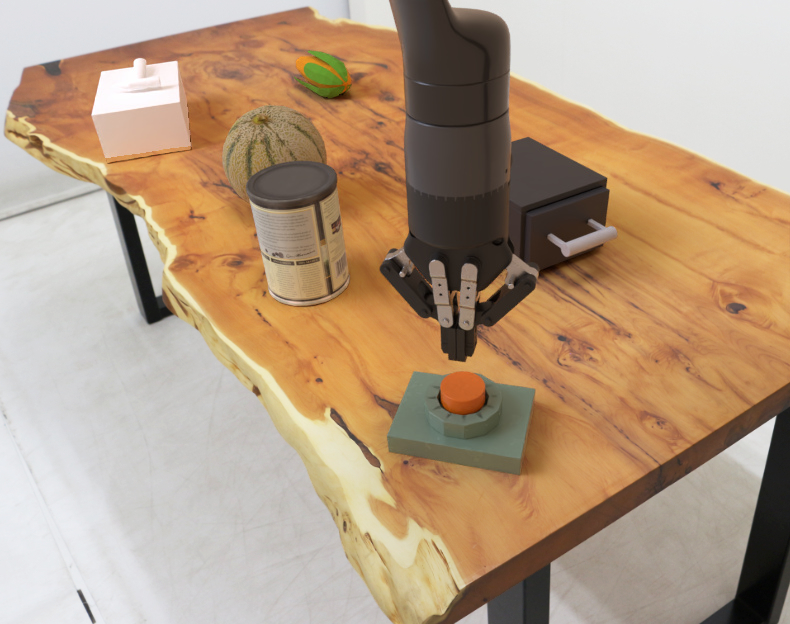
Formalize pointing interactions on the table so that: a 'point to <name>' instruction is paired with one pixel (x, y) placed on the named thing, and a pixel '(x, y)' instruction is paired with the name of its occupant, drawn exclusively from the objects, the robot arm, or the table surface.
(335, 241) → the coffee can
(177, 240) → the table surface
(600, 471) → the table surface
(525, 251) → the dark drawer
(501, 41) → the robot arm
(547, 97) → the table surface
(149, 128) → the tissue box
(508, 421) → the control block
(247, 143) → the cantaloupe
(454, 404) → the button
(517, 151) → the small drawer cabinet
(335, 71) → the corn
